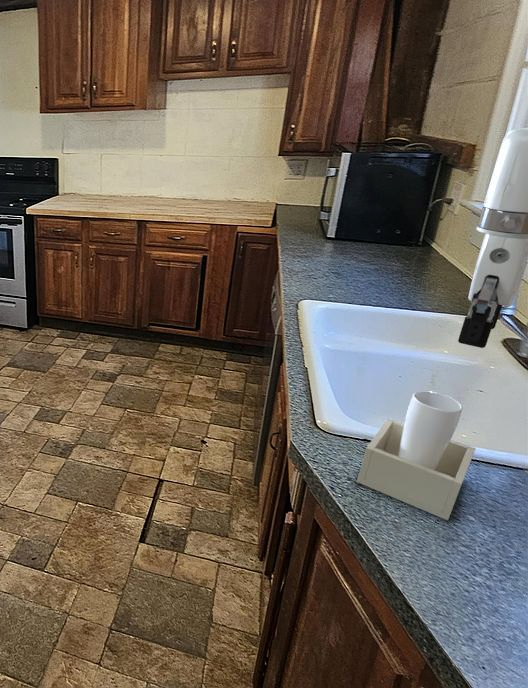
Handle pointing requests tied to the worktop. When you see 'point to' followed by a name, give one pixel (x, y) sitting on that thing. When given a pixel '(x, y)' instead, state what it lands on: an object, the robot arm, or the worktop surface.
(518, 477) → the worktop surface
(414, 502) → the beige open box
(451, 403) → the drinking glass
